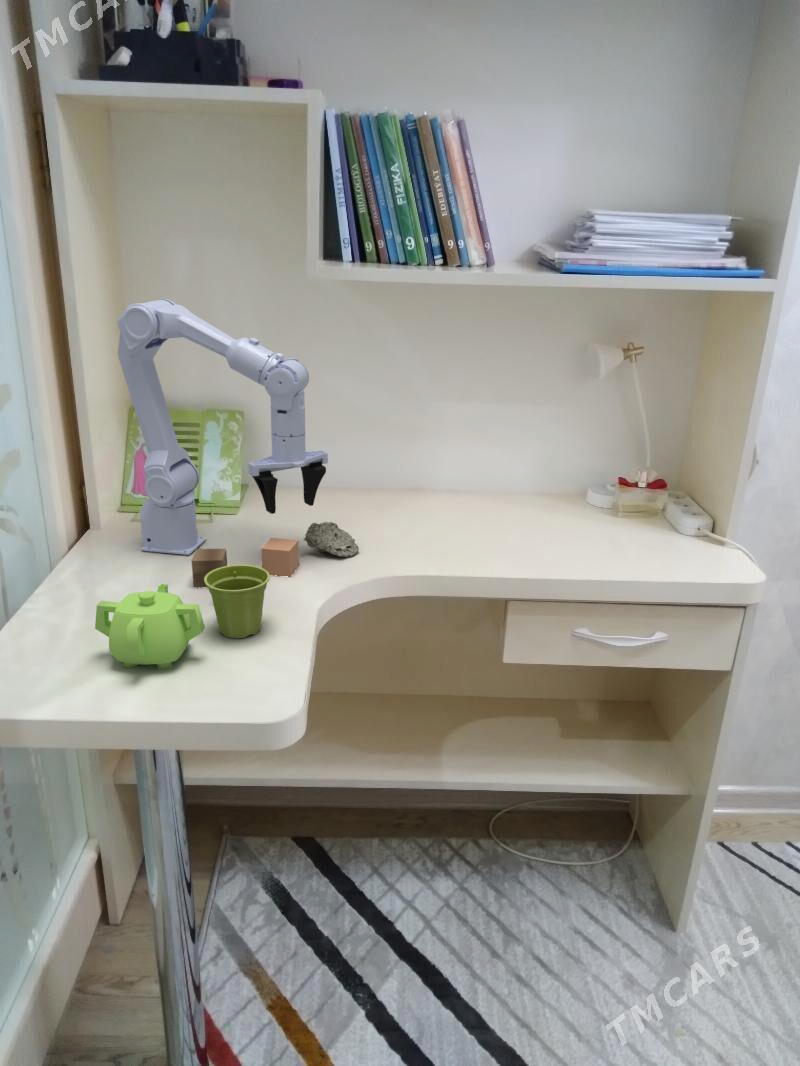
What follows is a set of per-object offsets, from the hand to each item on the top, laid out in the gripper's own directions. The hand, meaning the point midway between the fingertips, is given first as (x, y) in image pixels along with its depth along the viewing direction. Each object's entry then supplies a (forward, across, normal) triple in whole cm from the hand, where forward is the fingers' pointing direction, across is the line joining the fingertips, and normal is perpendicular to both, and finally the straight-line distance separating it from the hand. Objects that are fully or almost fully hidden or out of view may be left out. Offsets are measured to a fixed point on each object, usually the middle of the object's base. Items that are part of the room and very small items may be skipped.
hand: (290, 507), depth 145 cm
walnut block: (+10, -16, -1) cm, 19 cm away
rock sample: (+10, +9, -1) cm, 14 cm away
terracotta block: (+10, -4, -3) cm, 11 cm away
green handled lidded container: (+10, -33, -19) cm, 39 cm away
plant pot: (+10, -19, -19) cm, 29 cm away
